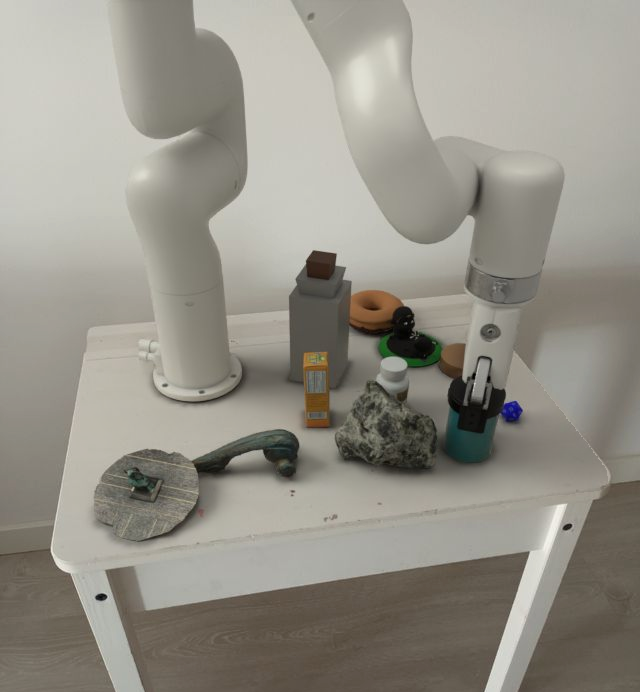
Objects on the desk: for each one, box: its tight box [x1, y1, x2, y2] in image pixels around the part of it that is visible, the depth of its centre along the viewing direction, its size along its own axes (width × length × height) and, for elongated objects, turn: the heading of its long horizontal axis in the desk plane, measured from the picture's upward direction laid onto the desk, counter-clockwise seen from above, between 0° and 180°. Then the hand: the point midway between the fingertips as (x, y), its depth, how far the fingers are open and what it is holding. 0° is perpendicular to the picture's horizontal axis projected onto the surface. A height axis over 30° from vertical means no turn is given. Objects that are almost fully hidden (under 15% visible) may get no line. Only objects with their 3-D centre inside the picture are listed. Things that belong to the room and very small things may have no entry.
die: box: [500, 400, 524, 423], centre depth 88 cm, size 3×3×3 cm
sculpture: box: [93, 448, 200, 542], centre depth 75 cm, size 12×9×8 cm
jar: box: [442, 406, 500, 463], centre depth 81 cm, size 6×6×9 cm
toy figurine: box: [377, 305, 444, 367], centre depth 100 cm, size 10×10×6 cm
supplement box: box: [303, 352, 331, 428], centre depth 85 cm, size 3×4×10 cm
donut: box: [349, 289, 405, 334], centre depth 106 cm, size 10×10×4 cm
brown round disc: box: [438, 342, 466, 379], centre depth 97 cm, size 7×7×2 cm
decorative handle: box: [190, 428, 300, 479], centre depth 79 cm, size 15×7×5 cm, turn 105°
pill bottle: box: [375, 357, 410, 405], centre depth 87 cm, size 4×4×8 cm
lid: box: [446, 374, 507, 419], centre depth 79 cm, size 7×7×2 cm
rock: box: [334, 379, 439, 469], centre depth 80 cm, size 12×8×10 cm
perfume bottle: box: [288, 249, 353, 389], centre depth 91 cm, size 7×7×18 cm
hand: (474, 410), depth 80 cm, fingers closed on lid, 6 cm apart
